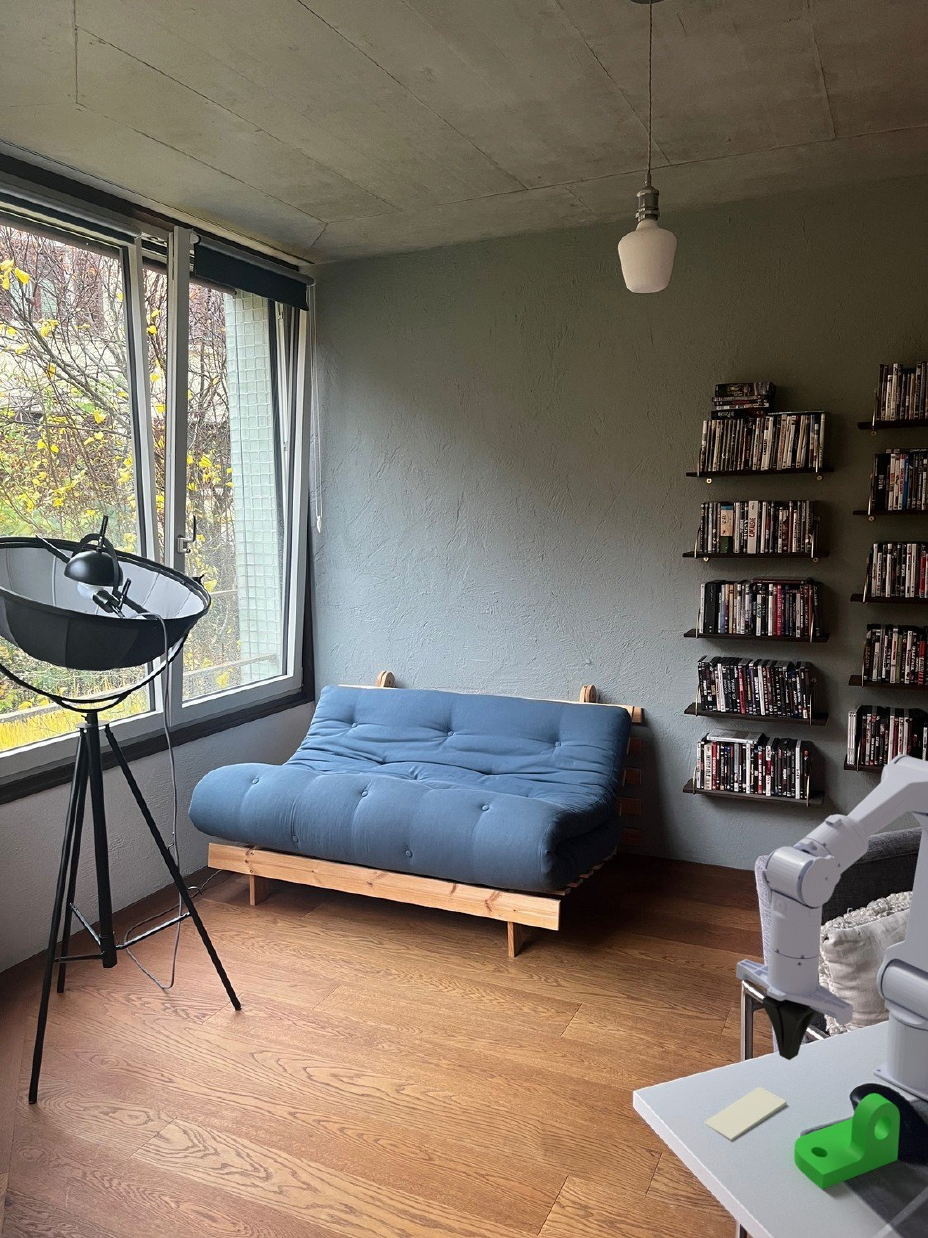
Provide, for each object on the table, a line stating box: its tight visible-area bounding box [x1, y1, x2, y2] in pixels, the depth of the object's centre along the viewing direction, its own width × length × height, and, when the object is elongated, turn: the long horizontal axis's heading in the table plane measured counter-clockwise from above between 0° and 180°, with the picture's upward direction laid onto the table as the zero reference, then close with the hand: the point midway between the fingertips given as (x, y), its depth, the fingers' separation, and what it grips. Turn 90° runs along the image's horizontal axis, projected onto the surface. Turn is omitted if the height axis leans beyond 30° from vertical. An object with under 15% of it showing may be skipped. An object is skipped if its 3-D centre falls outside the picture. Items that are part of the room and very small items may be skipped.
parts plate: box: [703, 1086, 788, 1142], centre depth 118 cm, size 12×4×1 cm, turn 129°
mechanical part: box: [793, 1093, 901, 1190], centre depth 111 cm, size 12×6×8 cm, turn 115°
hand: (788, 1055), depth 115 cm, fingers closed
